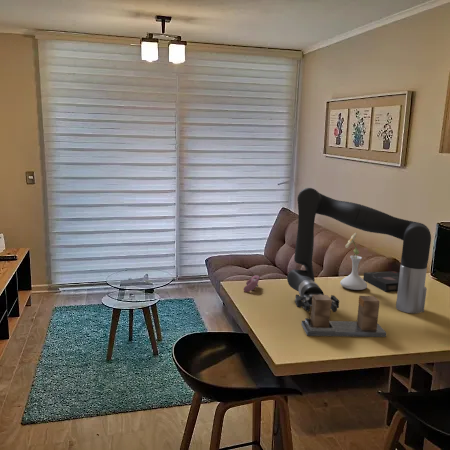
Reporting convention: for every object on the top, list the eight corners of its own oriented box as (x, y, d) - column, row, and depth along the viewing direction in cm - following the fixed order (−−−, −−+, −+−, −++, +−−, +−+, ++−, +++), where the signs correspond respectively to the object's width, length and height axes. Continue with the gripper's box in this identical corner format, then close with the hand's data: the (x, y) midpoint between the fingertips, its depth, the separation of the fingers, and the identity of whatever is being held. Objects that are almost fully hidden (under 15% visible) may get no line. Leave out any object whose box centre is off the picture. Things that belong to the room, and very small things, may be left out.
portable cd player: (385, 293, 198) (386, 284, 197) (363, 281, 214) (363, 272, 213) (418, 291, 202) (419, 282, 202) (393, 279, 218) (394, 271, 218)
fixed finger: (371, 324, 159) (374, 296, 157) (376, 330, 154) (379, 301, 152) (355, 323, 158) (358, 295, 156) (360, 329, 153) (363, 300, 151)
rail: (375, 325, 161) (376, 319, 160) (385, 336, 152) (386, 329, 152) (301, 324, 159) (301, 317, 159) (307, 335, 151) (307, 328, 150)
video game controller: (251, 296, 190) (260, 282, 189) (242, 290, 191) (250, 276, 189) (254, 289, 200) (262, 275, 198) (245, 283, 200) (253, 270, 199)
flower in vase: (345, 282, 209) (350, 227, 205) (370, 287, 203) (376, 231, 198) (334, 289, 199) (339, 231, 194) (360, 295, 192) (365, 236, 188)
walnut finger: (325, 323, 158) (328, 294, 156) (329, 329, 153) (332, 300, 151) (310, 322, 157) (312, 294, 156) (313, 328, 153) (316, 299, 151)
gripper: (291, 282, 167) (301, 297, 151) (330, 283, 168) (344, 298, 152) (290, 302, 169) (299, 319, 153) (329, 302, 170) (342, 320, 154)
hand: (322, 309), depth 153 cm, fingers open, 8 cm apart
